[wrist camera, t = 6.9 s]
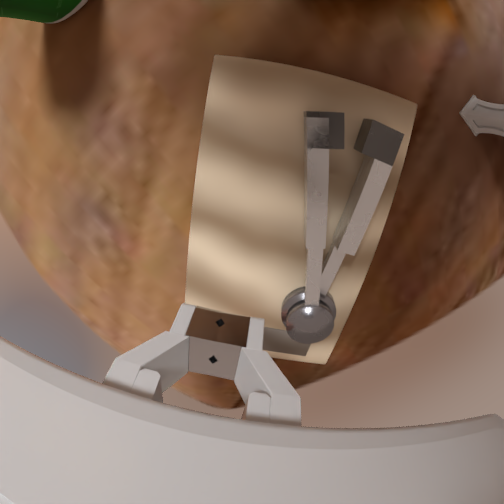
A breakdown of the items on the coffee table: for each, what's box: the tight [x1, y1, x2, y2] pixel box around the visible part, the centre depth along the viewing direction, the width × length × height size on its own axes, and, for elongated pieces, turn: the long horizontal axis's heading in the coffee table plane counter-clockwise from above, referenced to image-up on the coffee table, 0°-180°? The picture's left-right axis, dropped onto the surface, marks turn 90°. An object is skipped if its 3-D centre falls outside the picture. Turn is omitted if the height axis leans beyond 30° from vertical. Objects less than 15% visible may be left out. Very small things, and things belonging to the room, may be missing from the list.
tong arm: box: [286, 111, 345, 344], centre depth 21 cm, size 18×4×2 cm, turn 3°
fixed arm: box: [281, 118, 404, 327], centre depth 22 cm, size 19×5×2 cm, turn 164°
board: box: [185, 55, 418, 364], centre depth 24 cm, size 26×15×2 cm, turn 170°
